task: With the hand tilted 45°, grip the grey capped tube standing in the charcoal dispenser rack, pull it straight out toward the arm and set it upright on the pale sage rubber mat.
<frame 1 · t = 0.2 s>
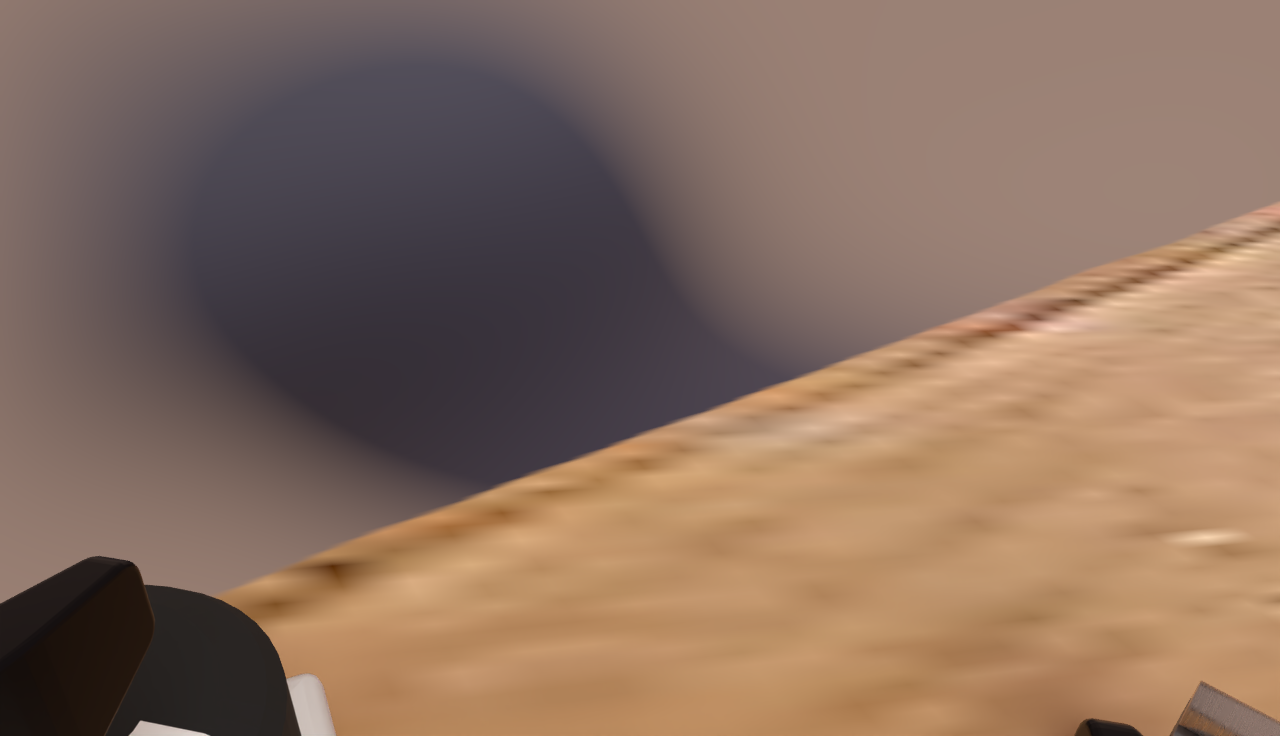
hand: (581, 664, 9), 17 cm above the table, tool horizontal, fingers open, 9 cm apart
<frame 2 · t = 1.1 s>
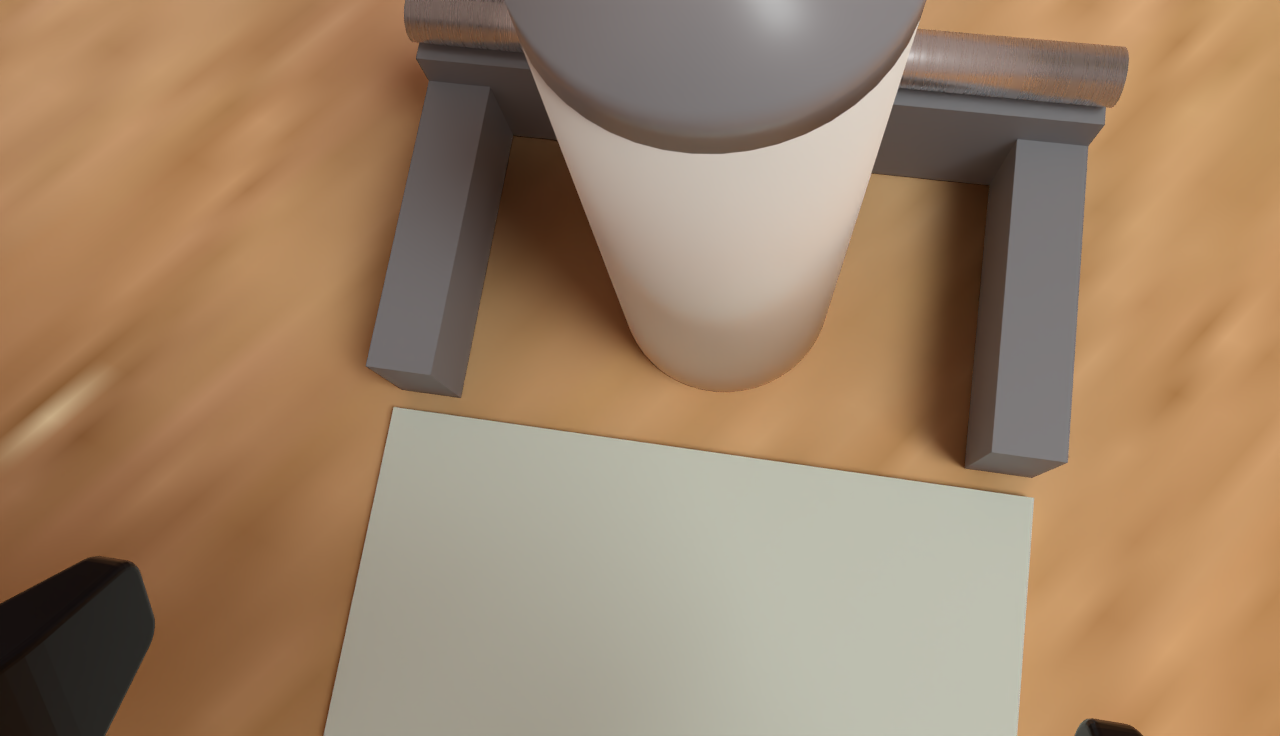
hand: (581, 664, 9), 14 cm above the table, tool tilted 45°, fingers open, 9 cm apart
grey capped tube: (725, 291, 24), on the table
sage mat: (666, 694, 22), on the table
dispenser rack: (725, 291, 24), on the table
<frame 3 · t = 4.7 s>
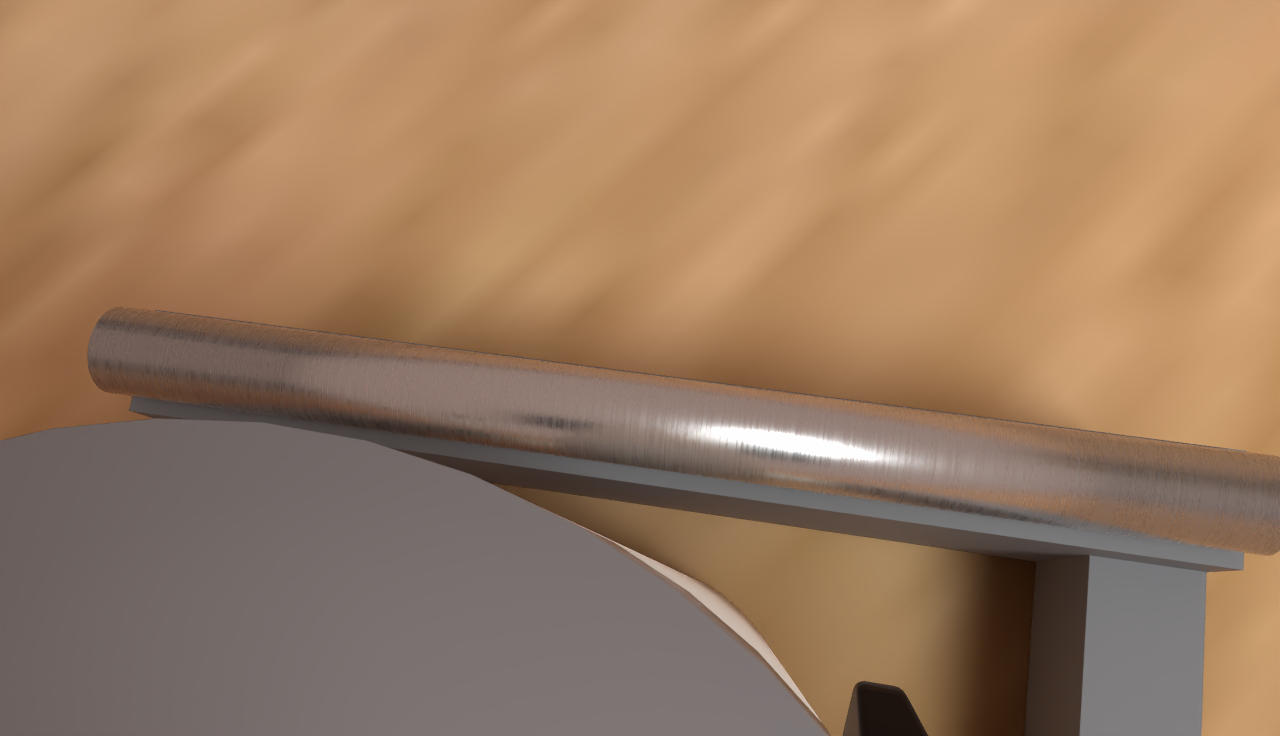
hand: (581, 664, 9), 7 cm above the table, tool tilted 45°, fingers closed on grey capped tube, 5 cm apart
grey capped tube: (633, 724, 16), on the table, touching gripper
dispenser rack: (633, 725, 16), on the table
when the fingers open (8 cm above the table, at t = 9.5 s): grey capped tube drops 1 cm, resting on sage mat.
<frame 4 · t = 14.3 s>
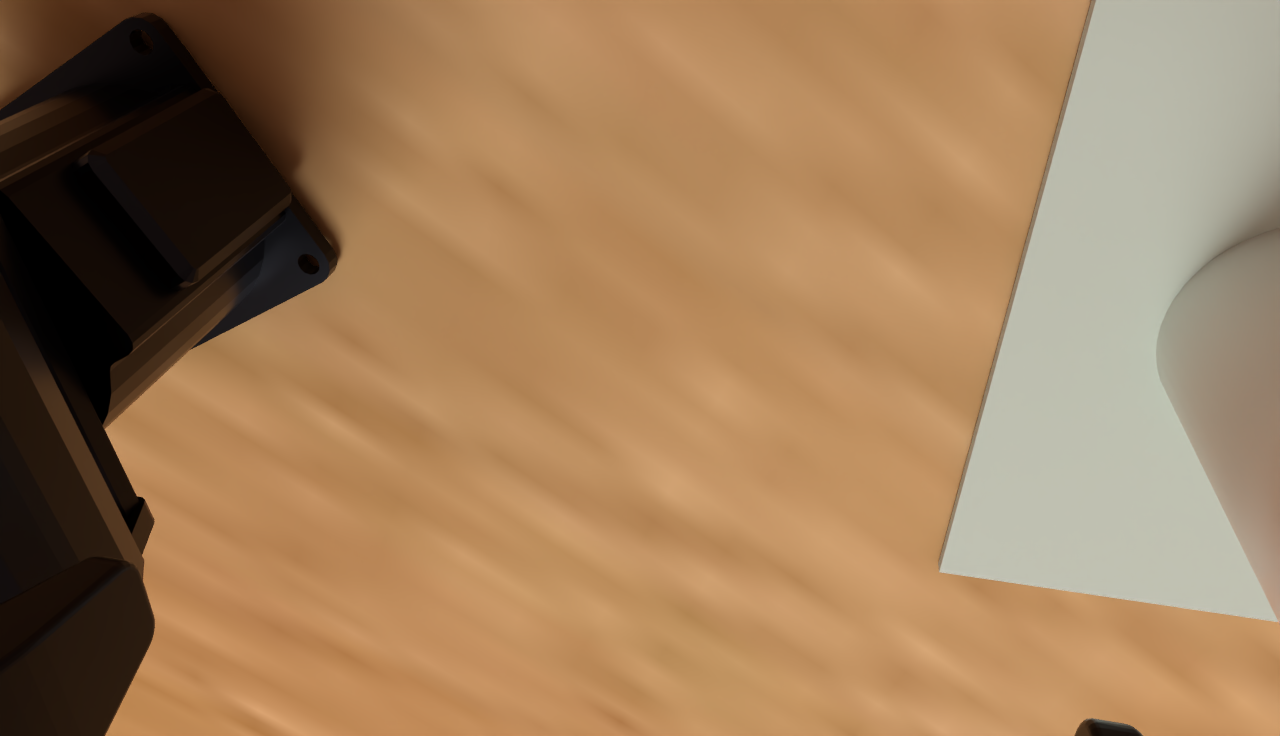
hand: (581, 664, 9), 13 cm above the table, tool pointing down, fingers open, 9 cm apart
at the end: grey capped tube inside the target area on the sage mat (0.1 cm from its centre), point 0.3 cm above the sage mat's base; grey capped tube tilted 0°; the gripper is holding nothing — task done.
